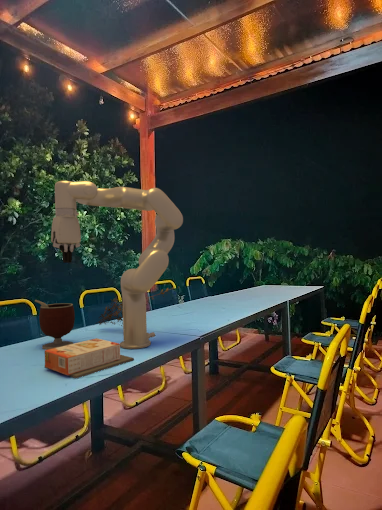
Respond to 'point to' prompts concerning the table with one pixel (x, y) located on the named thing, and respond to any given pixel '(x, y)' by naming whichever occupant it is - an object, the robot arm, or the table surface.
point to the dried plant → (118, 310)
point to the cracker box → (81, 356)
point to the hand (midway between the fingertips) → (67, 262)
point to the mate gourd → (56, 322)
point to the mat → (100, 367)
